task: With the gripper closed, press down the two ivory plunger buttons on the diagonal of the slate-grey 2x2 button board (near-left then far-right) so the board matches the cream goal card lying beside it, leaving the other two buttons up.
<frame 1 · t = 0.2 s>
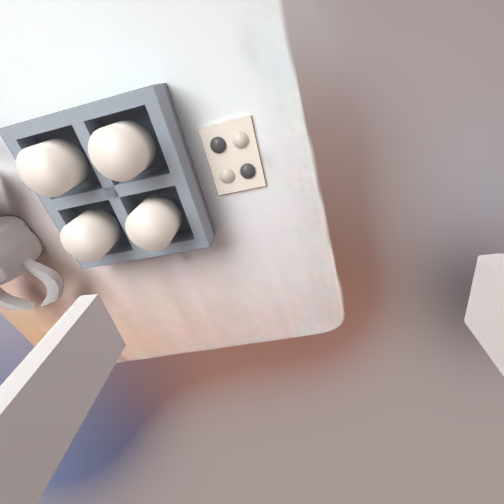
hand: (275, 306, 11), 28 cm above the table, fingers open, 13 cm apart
button board: (126, 181, 39), on the table
button b: (92, 235, 37), point 5 cm above the table, slide at 0.0 cm
goal card: (233, 157, 36), on the table
button c: (123, 150, 31), point 5 cm above the table, slide at 0.0 cm
button a: (155, 222, 35), point 5 cm above the table, slide at 0.0 cm
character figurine: (14, 234, 44), on the table
button d: (54, 167, 33), point 5 cm above the table, slide at 0.0 cm
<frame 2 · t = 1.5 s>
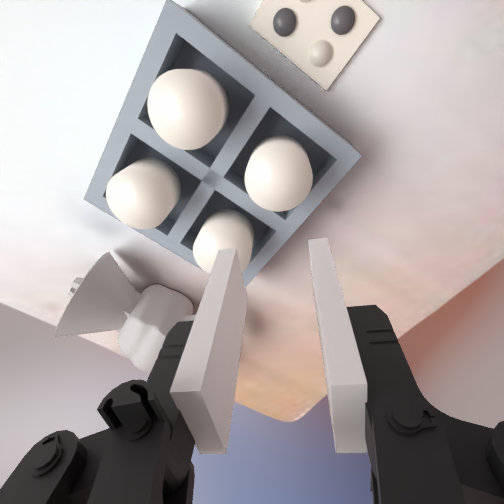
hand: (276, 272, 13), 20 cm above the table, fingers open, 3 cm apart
button board: (220, 166, 31), on the table
button b: (225, 242, 29), point 5 cm above the table, slide at 0.0 cm
goal card: (313, 22, 24), on the table
button c: (191, 108, 23), point 5 cm above the table, slide at 0.0 cm
button a: (278, 172, 25), point 5 cm above the table, slide at 0.0 cm
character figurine: (162, 303, 41), on the table
button d: (146, 193, 27), point 5 cm above the table, slide at 0.0 cm
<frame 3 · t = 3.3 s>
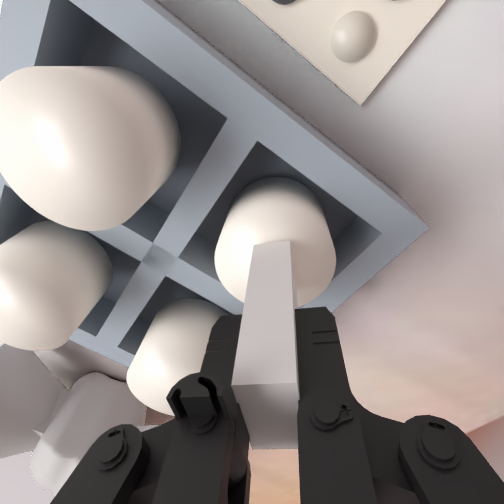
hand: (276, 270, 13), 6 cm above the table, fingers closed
button board: (181, 224, 19), on the table
button b: (186, 356, 18), point 5 cm above the table, slide at 0.0 cm
button c: (99, 145, 12), point 5 cm above the table, slide at 0.0 cm
button a: (274, 242, 15), point 4 cm above the table, slide at 1.5 cm, touching gripper
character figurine: (106, 393, 29), on the table
button d: (43, 284, 16), point 5 cm above the table, slide at 0.0 cm
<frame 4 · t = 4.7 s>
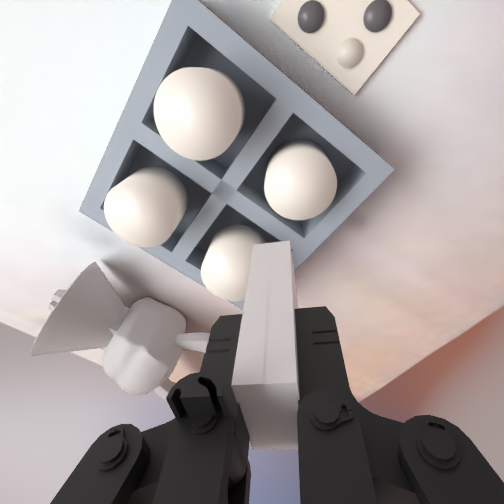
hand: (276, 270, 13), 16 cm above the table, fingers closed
button board: (231, 176, 28), on the table
button b: (236, 262, 26), point 5 cm above the table, slide at 0.0 cm
goal card: (343, 17, 21), on the table
button c: (203, 113, 20), point 5 cm above the table, slide at 0.0 cm
button a: (298, 178, 24), point 3 cm above the table, slide at 1.9 cm
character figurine: (152, 318, 38), on the table
button d: (149, 206, 24), point 5 cm above the table, slide at 0.0 cm
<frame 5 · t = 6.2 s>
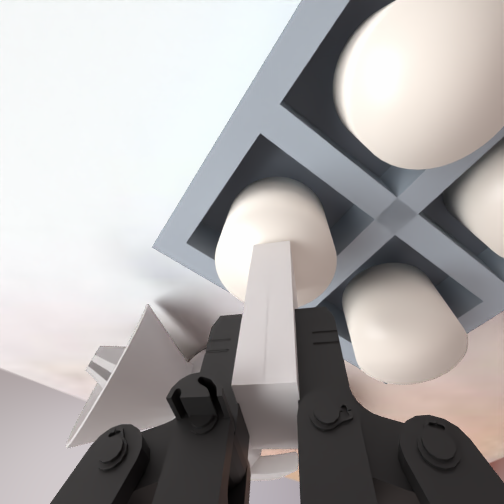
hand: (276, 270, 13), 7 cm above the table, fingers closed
button board: (374, 188, 18), on the table
button b: (396, 322, 17), point 5 cm above the table, slide at 0.0 cm
button c: (414, 81, 11), point 5 cm above the table, slide at 0.0 cm
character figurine: (216, 370, 29), on the table
button d: (275, 241, 15), point 5 cm above the table, slide at 0.0 cm, touching gripper
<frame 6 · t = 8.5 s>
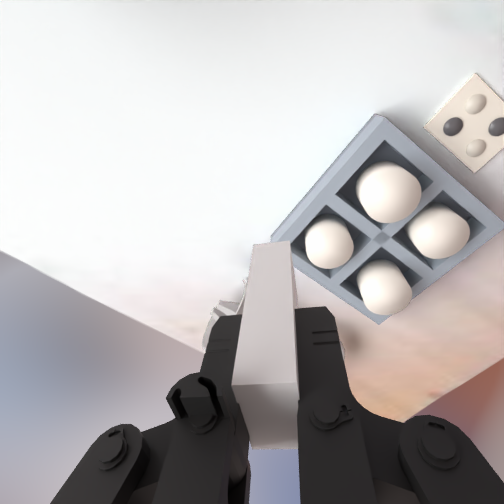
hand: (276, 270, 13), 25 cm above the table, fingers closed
button board: (372, 224, 38), on the table
button b: (382, 286, 36), point 5 cm above the table, slide at 0.0 cm
goal card: (473, 126, 32), on the table
button c: (386, 191, 31), point 5 cm above the table, slide at 0.0 cm
button a: (434, 229, 34), point 3 cm above the table, slide at 1.9 cm
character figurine: (273, 323, 48), on the table
button d: (327, 241, 36), point 3 cm above the table, slide at 1.9 cm
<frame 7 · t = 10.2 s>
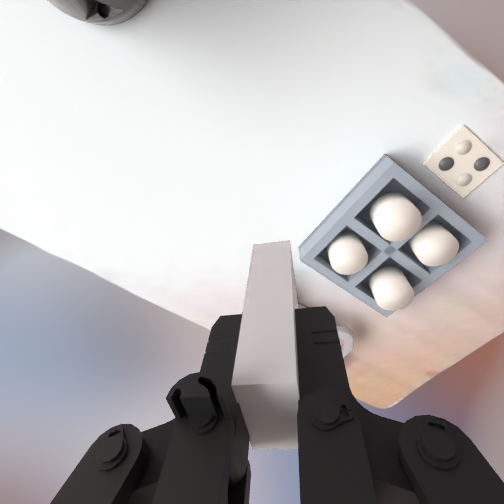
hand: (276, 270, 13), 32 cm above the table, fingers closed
button board: (381, 237, 47), on the table
button b: (390, 288, 46), point 5 cm above the table, slide at 0.0 cm
goal card: (462, 163, 41), on the table
button c: (394, 216, 40), point 5 cm above the table, slide at 0.0 cm
button a: (431, 243, 44), point 3 cm above the table, slide at 1.9 cm
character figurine: (294, 316, 57), on the table
button d: (346, 252, 46), point 3 cm above the table, slide at 1.9 cm
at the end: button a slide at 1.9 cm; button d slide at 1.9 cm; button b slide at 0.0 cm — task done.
